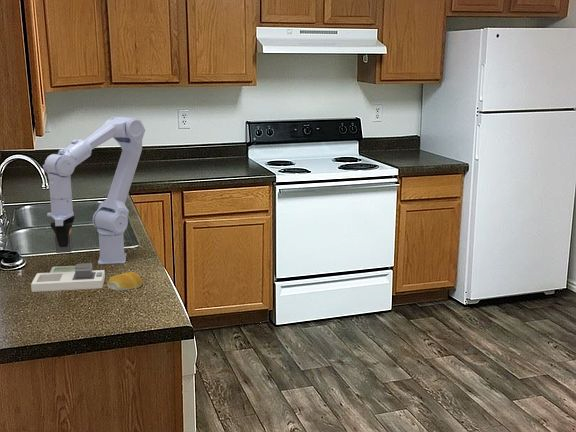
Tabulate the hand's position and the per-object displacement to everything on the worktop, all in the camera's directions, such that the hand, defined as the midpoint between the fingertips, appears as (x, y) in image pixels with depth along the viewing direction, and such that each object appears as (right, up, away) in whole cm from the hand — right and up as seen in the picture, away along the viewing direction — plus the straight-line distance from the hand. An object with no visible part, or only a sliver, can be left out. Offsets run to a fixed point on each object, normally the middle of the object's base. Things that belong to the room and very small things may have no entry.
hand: (64, 244), depth 186 cm
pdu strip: (+4, -11, -7) cm, 14 cm away
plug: (0, -2, 0) cm, 2 cm away
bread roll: (+19, -12, -7) cm, 23 cm away
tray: (0, -9, +2) cm, 9 cm away
